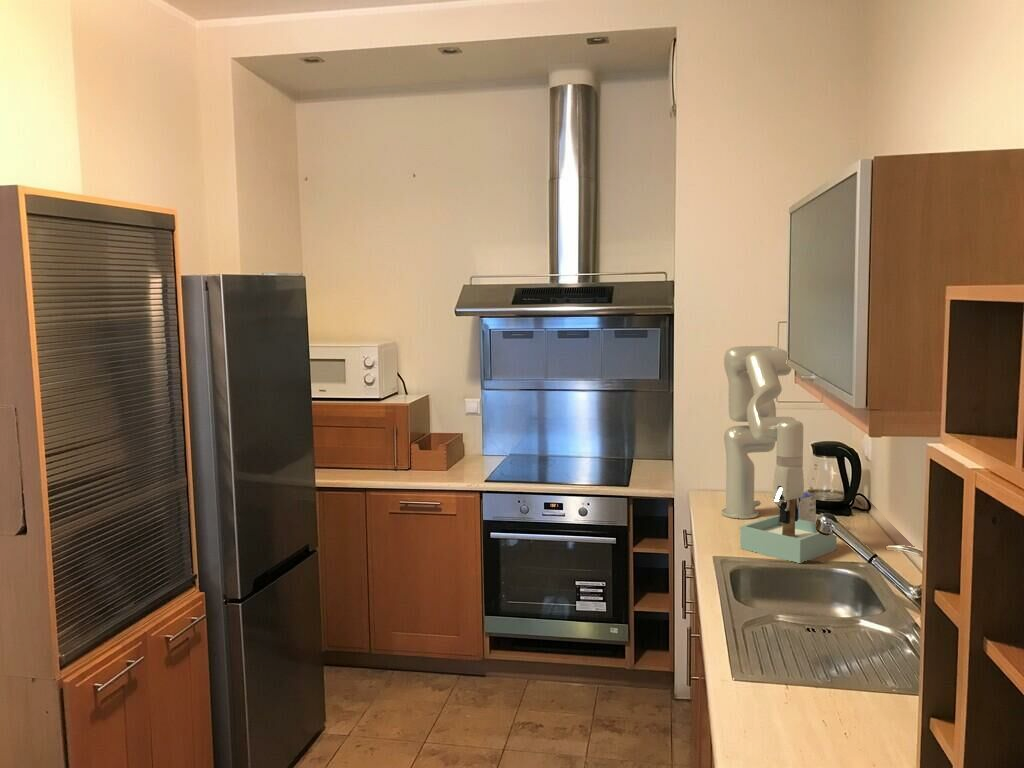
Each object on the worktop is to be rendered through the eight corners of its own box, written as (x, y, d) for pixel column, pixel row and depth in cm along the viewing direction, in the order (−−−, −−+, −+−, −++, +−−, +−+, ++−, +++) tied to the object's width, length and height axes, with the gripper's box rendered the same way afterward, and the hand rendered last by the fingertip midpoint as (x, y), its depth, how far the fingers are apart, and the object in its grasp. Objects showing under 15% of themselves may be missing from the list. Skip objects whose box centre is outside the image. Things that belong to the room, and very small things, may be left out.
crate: (777, 536, 264) (777, 514, 264) (836, 549, 249) (836, 527, 248) (740, 548, 252) (740, 526, 251) (799, 563, 236) (800, 540, 236)
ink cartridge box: (801, 527, 275) (802, 484, 273) (816, 530, 270) (817, 487, 269) (784, 532, 268) (784, 489, 267) (799, 536, 264) (800, 491, 263)
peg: (786, 532, 252) (787, 494, 251) (797, 535, 250) (797, 496, 249) (779, 534, 250) (780, 495, 249) (790, 537, 247) (791, 497, 246)
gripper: (793, 456, 256) (792, 514, 258) (762, 463, 245) (761, 524, 247) (815, 459, 250) (814, 519, 252) (785, 467, 240) (784, 529, 241)
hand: (788, 521), depth 250 cm, fingers closed on peg, 3 cm apart
